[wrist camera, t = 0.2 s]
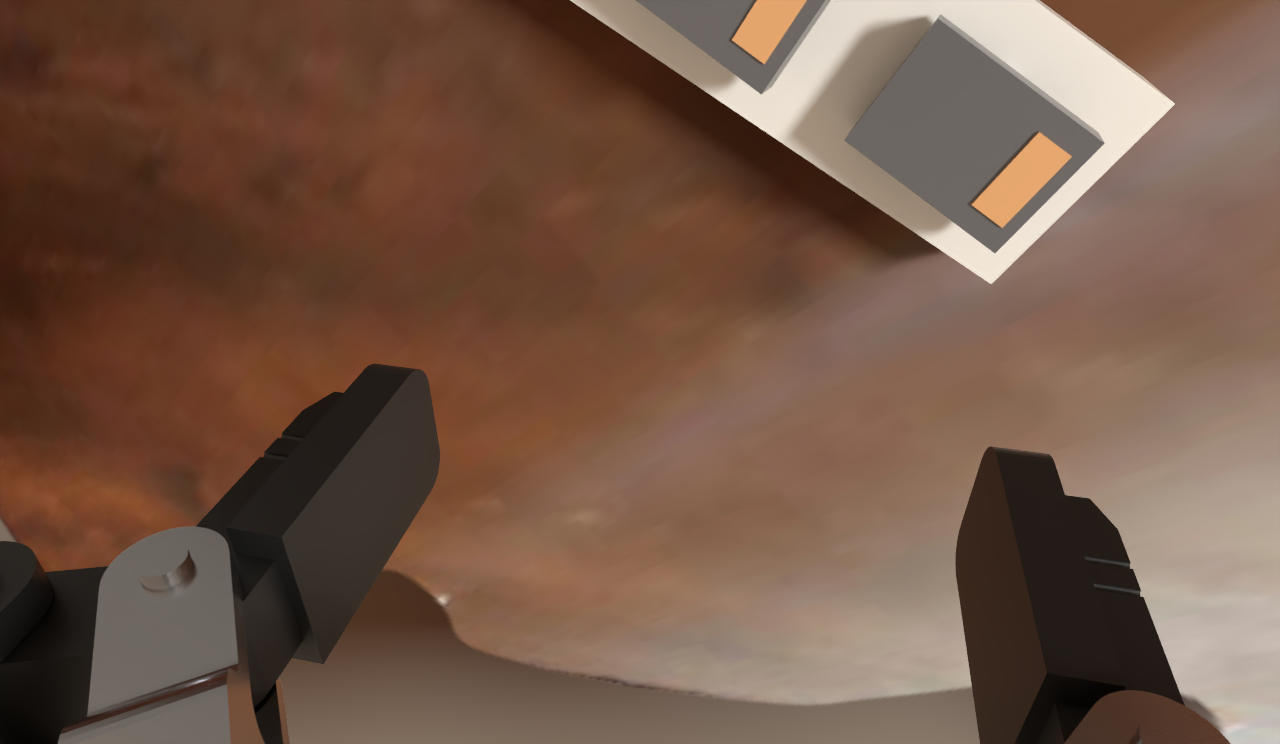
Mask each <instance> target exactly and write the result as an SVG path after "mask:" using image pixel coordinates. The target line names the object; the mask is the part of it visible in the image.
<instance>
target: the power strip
mask: <svg viewBox="0 0 1280 744" xmlns="http://www.w3.org/2000/svg"><path fill="white" fill-rule="evenodd" d="M570 1H572V2H573V3H575V4H576V5H578V6H579V7H581V8H582V9H584V10H585V11H586V12H588V13H589V14H591V15H592V16H594V17H595V18H597V19H598V20H600V21H601V22H603V23H604V24H606V25H607V26H609V27H610V28H612V29H613V30H615V31H616V32H618V33H619V34H621V35H622V36H624V37H625V38H627V39H628V40H630V41H631V42H632V43H634V44H635V45H637V46H638V47H640V48H641V49H643V50H644V51H646V52H647V53H649V54H650V55H652V56H653V57H655V58H656V59H658V60H659V61H661V62H662V63H664V64H665V65H667V66H668V67H670V68H671V69H673V70H674V71H676V72H677V73H679V74H680V75H681V76H683V77H684V78H686V79H687V80H689V81H690V82H692V83H693V84H695V85H696V86H698V87H699V88H701V89H702V90H704V91H705V92H707V93H708V94H710V95H711V96H713V97H714V98H716V99H717V100H719V101H720V102H722V103H723V104H725V105H726V106H727V107H729V108H730V109H732V110H733V111H735V112H736V113H738V114H739V115H741V116H742V117H744V118H745V119H747V120H748V121H750V122H751V123H753V124H754V125H756V126H757V127H759V128H760V129H762V130H763V131H765V132H766V133H768V134H769V135H771V136H772V137H773V138H775V139H776V140H778V141H779V142H781V143H782V144H784V145H785V146H787V147H788V148H790V149H791V150H793V151H794V152H796V153H797V154H799V155H800V156H802V157H803V158H805V159H806V160H808V161H809V162H811V163H812V164H814V165H815V166H817V167H818V168H820V169H821V170H822V171H824V172H825V173H827V174H828V175H830V176H831V177H833V178H834V179H836V180H837V181H839V182H840V183H842V184H843V185H845V186H846V187H848V188H849V189H851V190H852V191H854V192H855V193H857V194H858V195H860V196H861V197H863V198H864V199H866V200H867V201H868V202H870V203H871V204H873V205H874V206H876V207H877V208H879V209H880V210H882V211H883V212H885V213H886V214H888V215H889V216H891V217H892V218H894V219H895V220H897V221H898V222H900V223H901V224H903V225H904V226H906V227H907V228H909V229H910V230H912V231H913V232H914V233H916V234H917V235H919V236H920V237H922V238H923V239H925V240H926V241H928V242H929V243H931V244H932V245H934V246H935V247H937V248H938V249H940V250H941V251H943V252H944V253H946V254H947V255H949V256H950V257H952V258H953V259H955V260H956V261H958V262H959V263H961V264H962V265H963V266H965V267H966V268H968V269H969V270H971V271H972V272H974V273H975V274H977V275H978V276H980V277H981V278H983V279H984V280H986V281H987V282H989V283H990V284H992V283H993V282H994V281H995V280H996V279H997V278H998V277H999V276H1000V275H1001V274H1002V273H1003V272H1004V271H1005V270H1006V269H1007V268H1008V267H1009V266H1010V265H1011V264H1012V263H1013V262H1014V261H1015V260H1016V259H1017V258H1018V257H1019V256H1021V255H1022V254H1023V253H1024V252H1025V251H1026V250H1027V249H1028V248H1029V247H1030V246H1031V245H1032V244H1033V243H1034V242H1035V241H1036V240H1037V239H1038V238H1039V237H1040V236H1041V235H1042V234H1043V233H1044V232H1045V231H1046V230H1047V229H1048V228H1049V227H1050V226H1051V225H1052V224H1053V223H1054V222H1055V221H1056V220H1057V219H1058V218H1059V217H1060V216H1061V215H1062V214H1063V213H1064V212H1065V211H1066V210H1067V209H1068V208H1069V207H1070V206H1072V205H1073V204H1074V203H1075V202H1076V201H1077V200H1078V199H1079V198H1080V197H1081V196H1082V195H1083V194H1084V193H1085V192H1086V191H1087V190H1088V189H1089V188H1090V187H1091V186H1092V185H1093V184H1094V183H1095V182H1096V181H1097V180H1098V179H1099V178H1100V177H1101V176H1102V175H1103V174H1104V173H1105V172H1106V171H1107V170H1108V169H1109V168H1110V167H1111V166H1112V165H1113V164H1114V163H1115V162H1116V161H1117V160H1118V159H1119V158H1120V157H1121V156H1123V155H1124V154H1125V153H1126V152H1127V151H1128V150H1129V149H1130V148H1131V147H1132V146H1133V145H1134V144H1135V143H1136V142H1137V141H1138V140H1139V139H1140V138H1141V137H1142V136H1143V135H1144V134H1145V133H1146V132H1147V131H1148V130H1149V129H1150V128H1151V127H1152V126H1153V125H1154V124H1155V123H1156V122H1157V121H1158V120H1159V119H1160V118H1161V117H1162V116H1163V115H1164V114H1165V113H1166V112H1167V111H1168V110H1169V109H1170V108H1171V107H1172V106H1173V105H1175V103H1173V102H1172V101H1171V100H1170V99H1169V98H1167V97H1166V96H1165V95H1164V94H1163V93H1162V92H1160V91H1159V90H1158V89H1157V88H1156V87H1154V86H1153V85H1152V84H1151V83H1150V82H1148V81H1147V80H1146V79H1145V78H1144V77H1142V76H1141V75H1140V74H1138V73H1137V72H1136V71H1134V70H1133V69H1132V68H1130V67H1129V66H1128V65H1126V64H1125V63H1124V62H1122V61H1121V60H1120V59H1118V58H1117V57H1116V56H1114V55H1113V54H1112V53H1110V52H1109V51H1107V50H1106V49H1105V48H1103V47H1102V46H1101V45H1099V44H1098V43H1097V42H1095V41H1094V40H1093V39H1091V38H1090V37H1089V36H1087V35H1086V34H1085V33H1083V32H1082V31H1080V30H1079V29H1078V28H1076V27H1075V26H1074V25H1072V24H1071V23H1070V22H1068V21H1067V20H1066V19H1064V18H1063V17H1062V16H1060V15H1059V14H1058V13H1056V12H1055V11H1054V10H1052V9H1051V8H1049V7H1048V6H1047V5H1045V4H1044V3H1043V2H1041V1H1040V0H831V1H830V2H829V4H828V5H827V7H826V8H825V10H824V11H823V13H822V14H821V16H820V17H819V19H818V20H817V21H816V23H815V24H814V26H813V27H812V29H811V30H810V32H809V33H808V35H807V36H806V38H805V39H804V41H803V42H802V43H801V45H800V46H799V48H798V49H797V51H796V52H795V54H794V55H793V57H792V58H791V60H790V61H789V63H788V64H787V65H786V67H785V68H784V70H783V71H782V73H781V74H780V76H779V77H778V79H777V80H776V82H775V83H774V84H773V86H772V87H771V88H769V89H768V90H767V91H766V92H764V93H763V94H762V95H761V94H760V93H759V92H757V91H756V90H755V89H753V88H752V87H751V86H749V85H748V84H747V83H745V82H744V81H743V80H741V79H740V78H739V77H737V76H736V75H735V74H733V73H732V72H731V71H729V70H728V69H727V68H725V67H724V66H723V65H721V64H720V63H719V62H717V61H716V60H715V59H713V58H712V57H711V56H709V55H708V54H707V53H705V52H704V51H703V50H701V49H700V48H699V47H697V46H696V45H695V44H693V43H692V42H691V41H689V40H688V39H687V38H685V37H684V36H683V35H681V34H680V33H679V32H677V31H676V30H675V29H673V28H672V27H671V26H669V25H668V24H667V23H665V22H664V21H663V20H661V19H660V18H659V17H657V16H656V15H655V14H653V13H652V12H651V11H649V10H648V9H647V8H645V7H644V6H643V5H641V4H640V3H639V2H637V1H636V0H570ZM940 14H941V15H942V16H944V17H945V18H946V19H948V20H949V21H950V22H952V23H953V24H954V25H956V26H957V27H958V28H960V29H961V30H962V31H964V32H965V33H966V34H968V35H969V36H970V37H972V38H973V39H974V40H976V41H977V42H978V43H980V44H981V45H982V46H984V47H985V48H986V49H988V50H989V51H990V52H992V53H993V54H994V55H996V56H997V57H998V58H1000V59H1001V60H1002V61H1004V62H1005V63H1007V64H1008V65H1009V66H1011V67H1012V68H1013V69H1015V70H1016V71H1017V72H1019V73H1020V74H1021V75H1023V76H1024V77H1025V78H1027V79H1028V80H1029V81H1031V82H1032V83H1033V84H1035V85H1036V86H1037V87H1039V88H1040V89H1041V90H1043V91H1044V92H1045V93H1047V94H1048V95H1049V96H1051V97H1052V98H1053V99H1055V100H1056V101H1057V102H1059V103H1060V104H1061V105H1063V106H1064V107H1065V108H1067V109H1068V110H1069V111H1071V112H1072V113H1073V114H1075V115H1076V116H1077V117H1079V118H1080V119H1081V120H1083V121H1084V122H1085V123H1087V124H1088V125H1089V126H1091V127H1092V128H1093V129H1095V130H1096V131H1097V132H1099V134H1100V136H1101V138H1102V139H1103V141H1104V143H1105V144H1104V145H1103V146H1102V147H1101V148H1100V149H1099V150H1098V151H1097V152H1096V153H1095V154H1094V155H1093V156H1092V157H1091V158H1090V159H1089V160H1088V161H1087V162H1086V163H1085V164H1084V165H1083V166H1082V167H1081V168H1080V169H1079V170H1078V171H1077V172H1076V173H1075V174H1074V175H1073V176H1072V177H1071V178H1070V179H1069V180H1068V181H1067V182H1066V183H1065V184H1064V185H1063V186H1062V187H1061V188H1060V189H1059V190H1058V191H1057V192H1056V193H1055V194H1054V195H1053V196H1052V197H1051V198H1050V199H1049V200H1048V201H1047V202H1046V203H1045V204H1044V205H1043V206H1042V207H1041V208H1040V209H1039V210H1038V211H1037V212H1036V213H1035V214H1034V215H1033V216H1032V217H1031V218H1030V219H1029V220H1028V221H1027V222H1026V223H1025V224H1024V225H1023V226H1022V227H1021V228H1020V229H1019V230H1018V231H1017V232H1016V233H1015V234H1014V235H1013V236H1012V237H1011V238H1010V239H1009V240H1008V241H1007V242H1006V243H1005V244H1004V245H1003V246H1002V247H1001V248H1000V249H999V250H998V251H997V252H996V253H993V252H992V251H991V250H989V249H988V248H987V247H985V246H984V245H983V244H981V243H980V242H979V241H977V240H976V239H975V238H973V237H972V236H971V235H969V234H968V233H967V232H965V231H964V230H963V229H961V228H960V227H959V226H957V225H956V224H955V223H953V222H952V221H951V220H949V219H948V218H947V217H945V216H944V215H943V214H941V213H940V212H939V211H937V210H936V209H935V208H934V207H932V206H931V205H930V204H928V203H927V202H926V201H924V200H923V199H922V198H920V197H919V196H918V195H916V194H915V193H914V192H912V191H911V190H910V189H908V188H907V187H906V186H904V185H903V184H902V183H900V182H899V181H898V180H896V179H895V178H894V177H892V176H891V175H890V174H888V173H887V172H886V171H884V170H883V169H882V168H880V167H879V166H878V165H876V164H875V163H874V162H872V161H871V160H870V159H868V158H867V157H866V156H864V155H863V154H862V153H860V152H859V151H858V150H856V149H855V148H854V147H852V146H851V145H850V144H848V143H847V142H846V141H844V140H845V138H846V137H847V135H848V134H849V132H850V131H851V129H852V128H853V127H854V125H855V124H856V123H857V121H858V120H859V119H860V118H861V116H862V115H863V114H864V112H865V111H866V110H867V109H868V107H869V106H870V105H871V103H872V102H873V101H874V99H875V98H876V97H877V96H878V94H879V93H880V92H881V90H882V89H883V88H884V87H885V85H886V84H887V83H888V81H889V80H890V79H891V77H892V76H893V75H894V74H895V72H896V71H897V70H898V68H899V67H900V66H901V64H902V63H903V62H904V61H905V59H906V58H907V57H908V55H909V54H910V53H911V52H912V50H913V49H914V48H915V46H916V45H917V44H918V42H919V41H920V40H921V39H922V37H923V36H924V35H925V33H926V32H927V31H928V30H929V28H930V27H931V26H932V24H933V23H934V22H935V20H936V19H937V18H938V17H939V15H940Z"/></svg>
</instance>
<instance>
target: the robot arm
mask: <svg viewBox="0 0 1280 744" xmlns="http://www.w3.org/2000/svg"><path fill="white" fill-rule="evenodd" d="M439 462H440V450H439V443H438V437H437V431H436V424H435V418H434V412H433V406H432V400H431V394H430V388H429V383H428V379H427V376H426V374H425V373H424V372H423V371H422V370H419V369H411V368H404V367H396V366H388V365H381V364H371V365H369V366H368V367H367V368H366V369H364V371H363V372H362V373H361V374H360V375H359V376H358V377H357V379H356V380H355V381H354V382H353V383H352V384H351V385H350V387H349V388H348V389H347V390H346V391H345V392H344V393H340V392H333V393H331V394H330V395H328V396H326V397H325V398H323V399H321V400H320V401H318V402H316V403H314V404H313V405H311V406H309V407H308V408H306V409H304V410H303V411H302V412H301V413H300V414H299V415H298V416H297V417H296V418H295V420H294V421H293V422H292V423H291V424H290V425H289V426H288V427H287V428H286V429H285V430H284V431H283V433H282V437H281V438H277V439H276V440H275V441H274V442H273V443H272V444H271V446H270V447H269V448H268V449H267V450H266V451H265V455H264V457H260V458H259V459H258V460H257V461H256V462H255V463H254V464H253V465H252V466H251V467H250V468H249V469H248V471H247V472H246V473H245V474H244V475H243V476H242V477H241V478H240V479H239V480H238V481H237V482H236V484H235V485H234V486H233V487H232V488H231V489H230V490H229V491H228V492H227V493H226V494H225V495H224V497H223V498H222V499H221V500H220V501H219V502H218V503H217V504H216V505H215V506H214V507H213V508H212V510H211V511H210V512H209V513H208V514H207V515H206V516H205V517H204V518H203V519H202V520H201V521H200V523H199V524H198V525H197V526H196V527H180V528H174V529H169V530H165V531H162V532H159V533H156V534H153V535H151V536H149V537H146V538H144V539H142V540H140V541H139V542H137V543H135V544H133V545H132V546H130V547H129V548H127V549H126V550H125V551H123V552H122V553H121V554H120V555H119V556H118V557H116V558H115V560H114V561H113V562H112V563H111V564H110V565H109V566H107V567H96V568H85V569H75V570H64V571H53V572H44V570H43V568H42V566H41V565H40V563H39V561H38V559H37V558H36V556H35V554H34V553H33V551H32V550H31V549H30V548H29V547H27V546H25V545H23V544H21V543H16V542H9V541H0V744H290V742H289V734H288V726H287V718H286V711H285V703H284V695H283V688H282V684H281V681H280V679H279V676H280V675H281V673H282V672H283V670H284V669H285V667H286V666H287V664H288V662H289V661H290V660H291V658H296V659H301V660H306V661H311V662H316V663H321V664H324V662H325V660H326V659H327V657H328V656H329V654H330V653H331V651H332V649H333V648H334V646H335V644H336V643H337V641H338V640H339V638H340V636H341V635H342V633H343V632H344V630H345V628H346V627H347V625H348V624H349V622H350V620H351V619H352V617H353V616H354V614H355V612H356V611H357V609H358V608H359V606H360V604H361V603H362V601H363V600H364V598H365V596H366V595H367V593H368V591H369V590H370V588H371V586H372V585H373V583H374V582H375V580H376V578H377V577H378V575H379V574H380V572H381V571H382V569H383V567H384V566H385V564H386V563H387V561H388V559H389V558H390V556H391V554H392V553H393V551H394V550H395V548H396V546H397V545H398V543H399V542H400V540H401V538H402V537H403V535H404V534H405V532H406V530H407V529H408V527H409V525H410V524H411V522H412V521H413V519H414V517H415V516H416V514H417V513H418V511H419V509H420V508H421V506H422V505H423V503H424V501H425V500H426V498H427V497H428V495H429V493H430V492H431V490H432V488H433V486H434V483H435V481H436V478H437V474H438V469H439ZM956 577H957V584H958V591H959V598H960V605H961V612H962V619H963V626H964V633H965V640H966V647H967V654H968V661H969V668H970V675H971V682H972V689H973V697H974V703H975V711H976V717H977V724H978V732H979V738H980V744H1230V743H1229V741H1228V740H1227V739H1226V738H1225V737H1224V736H1223V735H1222V734H1221V733H1220V732H1219V731H1218V730H1217V729H1216V728H1215V727H1214V726H1213V725H1212V724H1210V723H1209V722H1208V721H1207V720H1206V719H1204V718H1203V717H1201V716H1200V715H1199V714H1197V713H1196V712H1194V711H1193V710H1191V709H1189V708H1187V707H1186V706H1185V705H1184V702H1183V700H1182V697H1181V695H1180V692H1179V690H1178V687H1177V684H1176V682H1175V679H1174V676H1173V674H1172V671H1171V668H1170V666H1169V663H1168V661H1167V658H1166V655H1165V653H1164V650H1163V647H1162V645H1161V642H1160V639H1159V637H1158V634H1157V632H1156V629H1155V626H1154V624H1153V621H1152V618H1151V616H1150V613H1149V610H1148V608H1147V605H1146V602H1145V600H1144V597H1140V591H1141V589H1140V587H1139V584H1138V581H1137V579H1136V576H1135V573H1134V571H1133V569H1130V560H1129V558H1128V555H1127V552H1126V550H1125V547H1124V544H1123V542H1122V539H1121V537H1120V534H1119V531H1118V529H1117V528H1116V527H1115V526H1114V525H1113V524H1112V523H1111V522H1110V520H1109V519H1108V518H1107V517H1106V516H1105V515H1104V514H1103V513H1102V512H1101V511H1100V509H1099V508H1098V507H1097V506H1096V505H1095V504H1094V503H1093V502H1092V501H1091V500H1090V499H1088V498H1081V497H1074V496H1067V495H1065V494H1064V491H1063V488H1062V485H1061V481H1060V478H1059V475H1058V472H1057V469H1056V466H1055V463H1054V460H1053V458H1052V457H1051V456H1050V455H1049V454H1043V453H1036V452H1028V451H1020V450H1013V449H1005V448H998V447H988V448H987V450H986V451H985V453H984V455H983V458H982V460H981V464H980V467H979V470H978V473H977V476H976V479H975V482H974V486H973V489H972V492H971V495H970V498H969V501H968V505H967V508H966V511H965V514H964V517H963V520H962V523H961V527H960V530H959V535H958V540H957V547H956Z"/></svg>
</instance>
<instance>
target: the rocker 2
mask: <svg viewBox="0 0 1280 744" xmlns="http://www.w3.org/2000/svg"><path fill="white" fill-rule="evenodd" d="M844 141H846V142H847V143H848V144H850V145H851V146H852V147H854V148H855V149H856V150H858V151H859V152H860V153H862V154H863V155H864V156H866V157H867V158H868V159H870V160H871V161H872V162H874V163H875V164H876V165H878V166H879V167H880V168H882V169H883V170H884V171H886V172H887V173H888V174H890V175H891V176H892V177H894V178H895V179H896V180H898V181H899V182H900V183H902V184H903V185H904V186H906V187H907V188H908V189H910V190H911V191H912V192H914V193H915V194H916V195H918V196H919V197H920V198H922V199H923V200H924V201H926V202H927V203H928V204H930V205H931V206H932V207H934V208H935V209H936V210H937V211H939V212H940V213H941V214H943V215H944V216H945V217H947V218H948V219H949V220H951V221H952V222H953V223H955V224H956V225H957V226H959V227H960V228H961V229H963V230H964V231H965V232H967V233H968V234H969V235H971V236H972V237H973V238H975V239H976V240H977V241H979V242H980V243H981V244H983V245H984V246H985V247H987V248H988V249H989V250H991V251H992V252H993V253H996V252H997V251H998V250H999V249H1000V248H1001V247H1002V246H1003V245H1004V244H1005V243H1006V242H1007V241H1008V240H1009V239H1010V238H1011V237H1012V236H1013V235H1014V234H1015V233H1016V232H1017V231H1018V230H1019V229H1020V228H1021V227H1022V226H1023V225H1024V224H1025V223H1026V222H1027V221H1028V220H1029V219H1030V218H1031V217H1032V216H1033V215H1034V214H1035V213H1036V212H1037V211H1038V210H1039V209H1040V208H1041V207H1042V206H1043V205H1044V204H1045V203H1046V202H1047V201H1048V200H1049V199H1050V198H1051V197H1052V196H1053V195H1054V194H1055V193H1056V192H1057V191H1058V190H1059V189H1060V188H1061V187H1062V186H1063V185H1064V184H1065V183H1066V182H1067V181H1068V180H1069V179H1070V178H1071V177H1072V176H1073V175H1074V174H1075V173H1076V172H1077V171H1078V170H1079V169H1080V168H1081V167H1082V166H1083V165H1084V164H1085V163H1086V162H1087V161H1088V160H1089V159H1090V158H1091V157H1092V156H1093V155H1094V154H1095V153H1096V152H1097V151H1098V150H1099V149H1100V148H1101V147H1102V146H1103V145H1104V144H1105V143H1104V141H1103V139H1102V138H1101V136H1100V134H1099V132H1097V131H1096V130H1095V129H1093V128H1092V127H1091V126H1089V125H1088V124H1087V123H1085V122H1084V121H1083V120H1081V119H1080V118H1079V117H1077V116H1076V115H1075V114H1073V113H1072V112H1071V111H1069V110H1068V109H1067V108H1065V107H1064V106H1063V105H1061V104H1060V103H1059V102H1057V101H1056V100H1055V99H1053V98H1052V97H1051V96H1049V95H1048V94H1047V93H1045V92H1044V91H1043V90H1041V89H1040V88H1039V87H1037V86H1036V85H1035V84H1033V83H1032V82H1031V81H1029V80H1028V79H1027V78H1025V77H1024V76H1023V75H1021V74H1020V73H1019V72H1017V71H1016V70H1015V69H1013V68H1012V67H1011V66H1009V65H1008V64H1007V63H1005V62H1004V61H1002V60H1001V59H1000V58H998V57H997V56H996V55H994V54H993V53H992V52H990V51H989V50H988V49H986V48H985V47H984V46H982V45H981V44H980V43H978V42H977V41H976V40H974V39H973V38H972V37H970V36H969V35H968V34H966V33H965V32H964V31H962V30H961V29H960V28H958V27H957V26H956V25H954V24H953V23H952V22H950V21H949V20H948V19H946V18H945V17H944V16H942V15H941V14H940V15H939V17H938V18H937V19H936V20H935V22H934V23H933V24H932V26H931V27H930V28H929V30H928V31H927V32H926V33H925V35H924V36H923V37H922V39H921V40H920V41H919V42H918V44H917V45H916V46H915V48H914V49H913V50H912V52H911V53H910V54H909V55H908V57H907V58H906V59H905V61H904V62H903V63H902V64H901V66H900V67H899V68H898V70H897V71H896V72H895V74H894V75H893V76H892V77H891V79H890V80H889V81H888V83H887V84H886V85H885V87H884V88H883V89H882V90H881V92H880V93H879V94H878V96H877V97H876V98H875V99H874V101H873V102H872V103H871V105H870V106H869V107H868V109H867V110H866V111H865V112H864V114H863V115H862V116H861V118H860V119H859V120H858V121H857V123H856V124H855V125H854V127H853V128H852V129H851V131H850V132H849V134H848V135H847V137H846V138H845V140H844Z"/></svg>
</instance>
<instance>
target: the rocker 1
mask: <svg viewBox="0 0 1280 744" xmlns="http://www.w3.org/2000/svg"><path fill="white" fill-rule="evenodd" d="M636 1H637V2H639V3H640V4H641V5H643V6H644V7H645V8H647V9H648V10H649V11H651V12H652V13H653V14H655V15H656V16H657V17H659V18H660V19H661V20H663V21H664V22H665V23H667V24H668V25H669V26H671V27H672V28H673V29H675V30H676V31H677V32H679V33H680V34H681V35H683V36H684V37H685V38H687V39H688V40H689V41H691V42H692V43H693V44H695V45H696V46H697V47H699V48H700V49H701V50H703V51H704V52H705V53H707V54H708V55H709V56H711V57H712V58H713V59H715V60H716V61H717V62H719V63H720V64H721V65H723V66H724V67H725V68H727V69H728V70H729V71H731V72H732V73H733V74H735V75H736V76H737V77H739V78H740V79H741V80H743V81H744V82H745V83H747V84H748V85H749V86H751V87H752V88H753V89H755V90H756V91H757V92H759V93H760V94H761V95H762V94H763V93H764V92H766V91H767V90H768V89H769V88H771V87H772V86H773V84H774V83H775V82H776V80H777V79H778V77H779V76H780V74H781V73H782V71H783V70H784V68H785V67H786V65H787V64H788V63H789V61H790V60H791V58H792V57H793V55H794V54H795V52H796V51H797V49H798V48H799V46H800V45H801V43H802V42H803V41H804V39H805V38H806V36H807V35H808V33H809V32H810V30H811V29H812V27H813V26H814V24H815V23H816V21H817V20H818V19H819V17H820V16H821V14H822V13H823V11H824V10H825V8H826V7H827V5H828V4H829V2H830V1H831V0H636Z"/></svg>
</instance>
